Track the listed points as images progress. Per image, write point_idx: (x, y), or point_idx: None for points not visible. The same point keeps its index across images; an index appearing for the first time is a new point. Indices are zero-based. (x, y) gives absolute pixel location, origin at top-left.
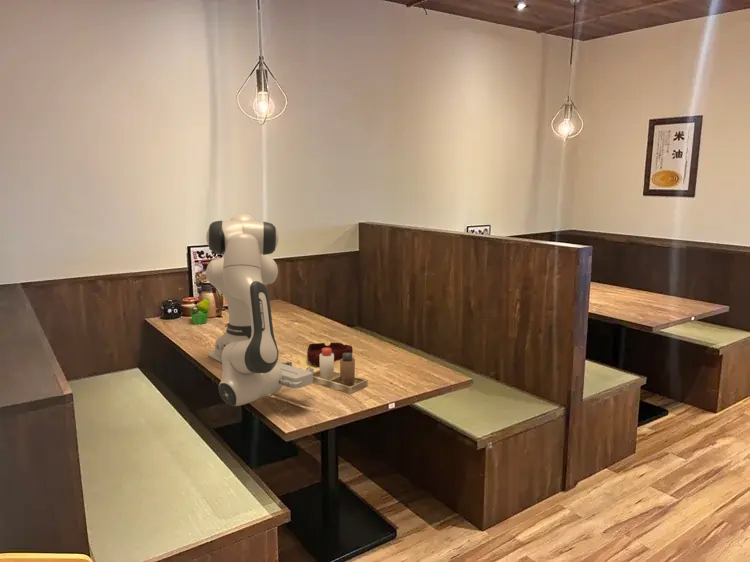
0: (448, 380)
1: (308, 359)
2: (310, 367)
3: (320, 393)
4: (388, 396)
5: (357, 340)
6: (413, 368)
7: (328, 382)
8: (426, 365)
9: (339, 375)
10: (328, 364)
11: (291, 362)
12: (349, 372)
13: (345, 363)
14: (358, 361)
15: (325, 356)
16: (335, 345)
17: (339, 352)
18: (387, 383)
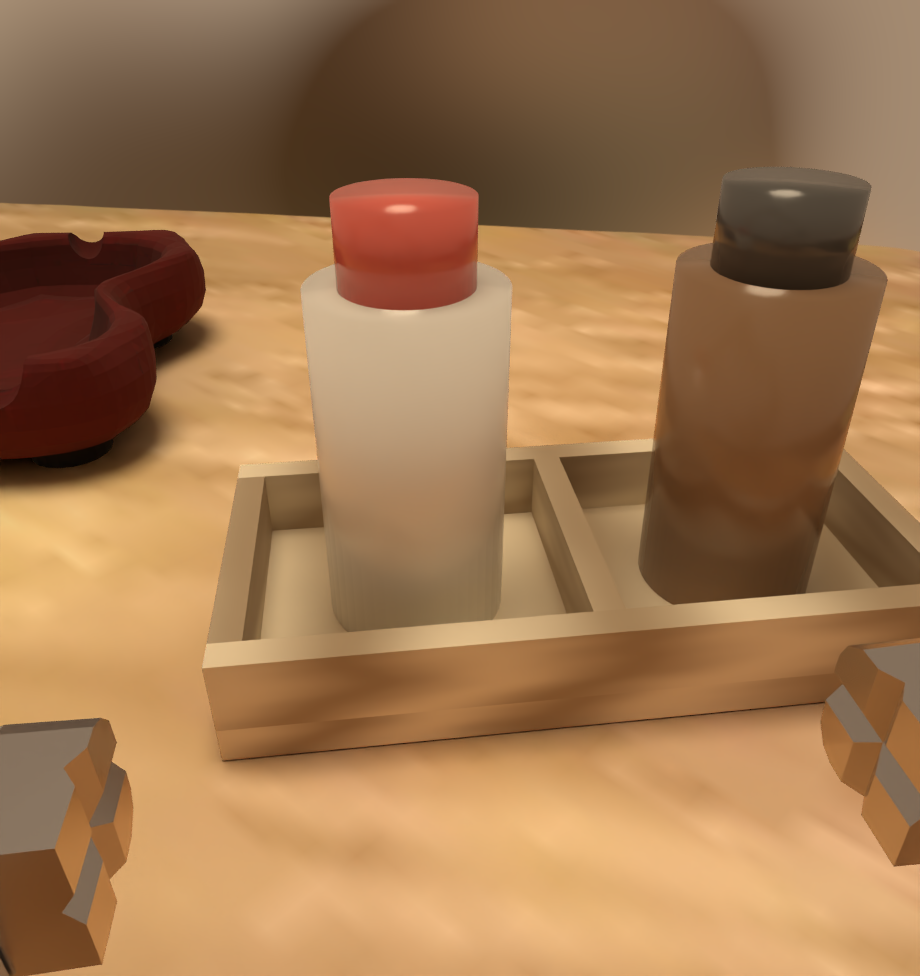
0: (900, 275)
1: None
2: (901, 645)
3: (654, 853)
4: None
5: (46, 230)
6: (624, 272)
7: (629, 643)
8: (629, 244)
9: None
10: (499, 410)
11: (102, 722)
12: (851, 417)
13: (858, 313)
14: (274, 327)
15: (455, 308)
16: (19, 260)
17: (140, 293)
18: None
